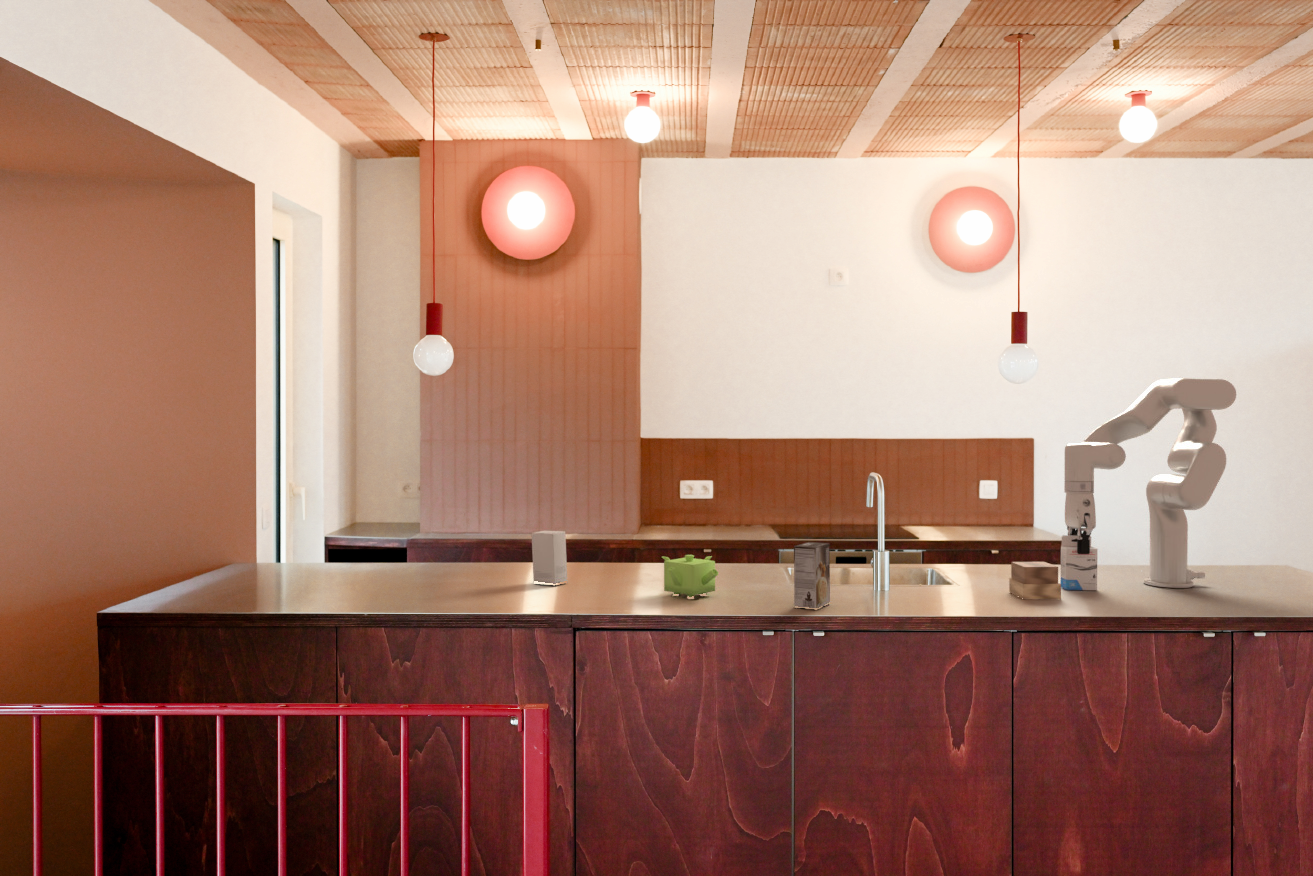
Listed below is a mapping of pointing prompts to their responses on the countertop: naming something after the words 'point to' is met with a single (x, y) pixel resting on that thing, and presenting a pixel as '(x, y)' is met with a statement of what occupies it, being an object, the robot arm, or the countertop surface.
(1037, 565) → the tower top
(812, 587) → the coffee box
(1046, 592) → the tower base
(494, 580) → the countertop surface
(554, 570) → the skincare box
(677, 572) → the kettle
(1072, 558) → the ink box
